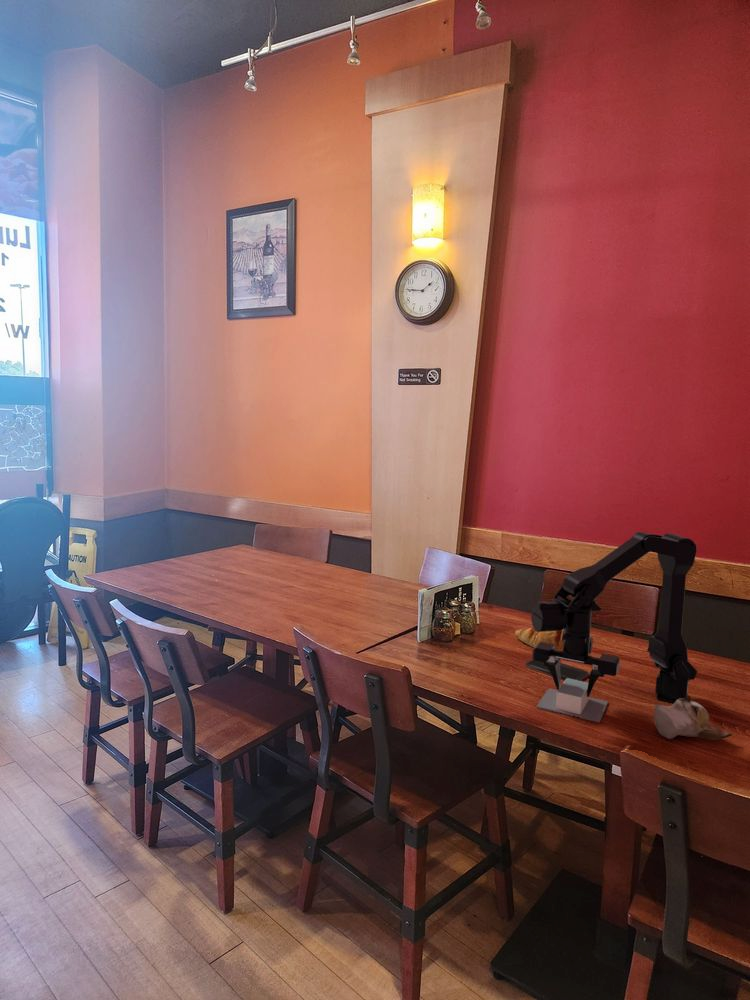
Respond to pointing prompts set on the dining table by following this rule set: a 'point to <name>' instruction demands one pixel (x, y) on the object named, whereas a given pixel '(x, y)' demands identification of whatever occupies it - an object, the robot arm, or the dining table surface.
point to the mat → (590, 712)
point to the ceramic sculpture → (686, 721)
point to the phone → (565, 670)
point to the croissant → (540, 637)
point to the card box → (572, 696)
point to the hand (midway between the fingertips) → (573, 693)
